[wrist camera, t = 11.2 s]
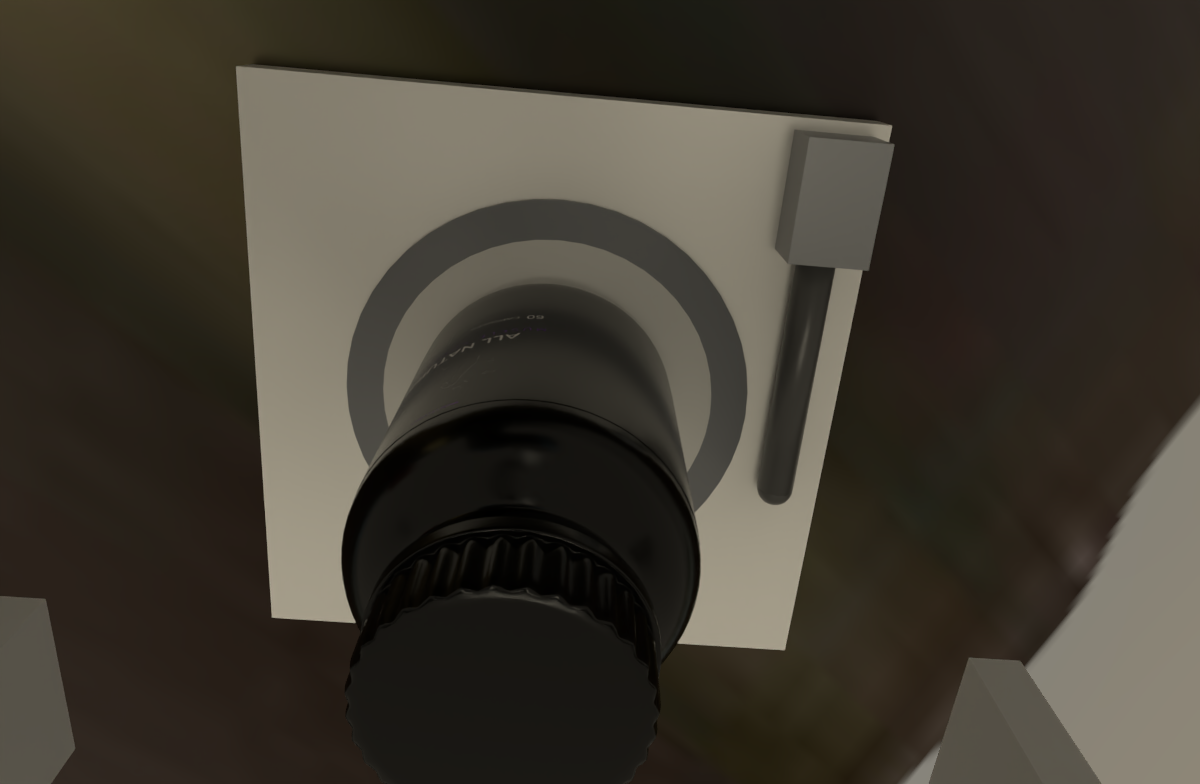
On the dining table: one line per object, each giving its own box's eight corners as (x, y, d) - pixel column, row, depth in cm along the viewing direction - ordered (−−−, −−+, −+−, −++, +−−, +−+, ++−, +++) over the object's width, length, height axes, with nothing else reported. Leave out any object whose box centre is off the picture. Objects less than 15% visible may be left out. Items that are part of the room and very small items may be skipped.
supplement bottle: (473, 233, 22) (364, 440, 11) (711, 339, 24) (824, 618, 12) (383, 454, 25) (220, 803, 14) (603, 539, 26) (617, 925, 15)
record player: (253, 64, 22) (209, 68, 20) (877, 121, 23) (914, 132, 20) (284, 594, 28) (253, 651, 26) (777, 626, 29) (795, 684, 26)
